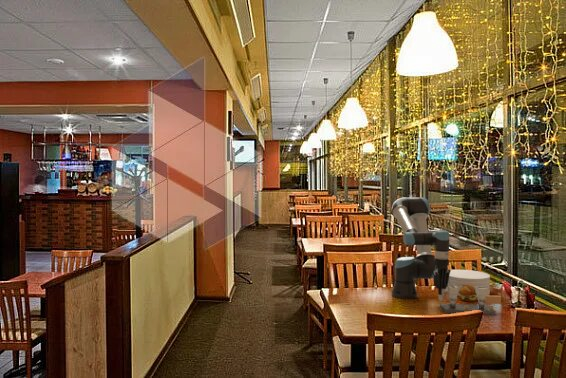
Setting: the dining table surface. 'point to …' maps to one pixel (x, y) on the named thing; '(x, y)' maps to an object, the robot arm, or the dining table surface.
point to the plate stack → (469, 279)
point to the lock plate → (467, 307)
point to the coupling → (452, 293)
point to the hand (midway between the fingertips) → (441, 300)
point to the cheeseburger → (468, 293)
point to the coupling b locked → (487, 296)
